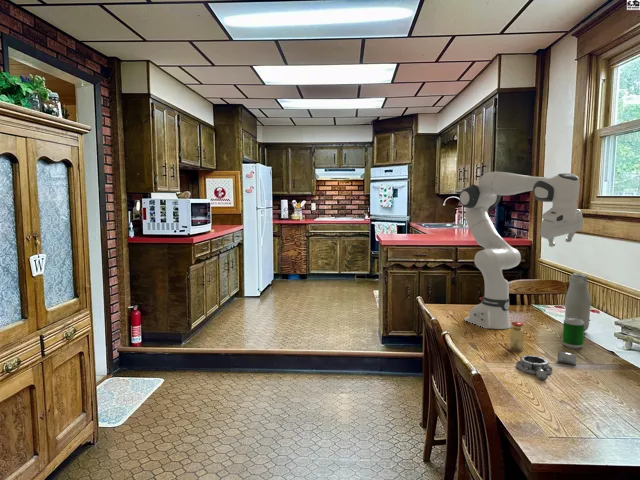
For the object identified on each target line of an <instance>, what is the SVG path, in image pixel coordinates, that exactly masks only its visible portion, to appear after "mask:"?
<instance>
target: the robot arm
mask: <svg viewBox="0 0 640 480" xmlns="http://www.w3.org/2000/svg"><path fill="white" fill-rule="evenodd" d="M530 191H531V192H532V193H533V194H532V195H533V197H534V199H535V200H537V201H538V202H542V203H552V206H551V208H549V210H547V211H545V212H544V213H542V215H541V218H542V221H541V224H540V231H539V232H540V233H539V234H540V237H541V238H543V239H546V240H548V247H550V248H553V247H555V246H556V242H554V239H555V238H557V237H560V236H564V235H567V237H565V242H566V243H572V241H573V237H574V236H575V234H576V232H579V231H582V230H583V227H584V217H583V211H582V210H581V209H578V204H577V202H578V198H579V195H580V179H579V177H578V175H576V174H573V173H569V172H559V173H558V174H556V175H555V176H552V177H549V176H548V177H545V176H532V175H525V174H524V175H523V174H519V173H518V174H517V173H513V172H508V171H507V172H505V171H489V172H485V173H484V174H482V175H481V177H480V179H479V183H478V184H477V185H476V184H471V185H469V186H467V187H465V188H464V189H462V190H461V192H460V193H459V198H458V199H459V203H460V205H461V206H462V207H464V208H467V210H466V212H465V219H466V223H467V225H468V228H469V230H470V233H471V234H472V236H473V238H474V240H475V243H476V244H478V246H481V248H482V247H483V248H484V249H482V250H481V249H480V250H479V251H477V252H476V253H475V256H474V259H473V261H474V265H475V267H476V268H477V269H479V271H480V272H481V274H482V276H483V280H484V295H483V296H482V297H479V300H480V301H481V302H480V303H479V304H476V305H474V306H473V307H472V308H471V309H470V310H469V315H468V316H466V317H464V319H463V321H464V320H465V321H464V322H466V321H468V322H467V323H469V322H470V323H469V324H472V323H473V324H472V325H474V324H476V325H475V326H477V325H478V326H477V327H480V326H481V327H480V328H482V327H483V328H482V329H495V330H506V329H511V328H512V323H511V321H510V320H511V319H510V314H509V311H510V310H509V309H510V296H509V295H510V293H509V291H510V283H509V281H508V280H507V279H505V277H504V274H503V270H509V269H513V268H515V267H517V266H519V264H520V263H521V262H522V261H521V260H522V255H521V253H520V251H519V250H518V249H517V248H514V247H513V246H512V245H510V244H509V243H507V241H506V240H505V239H504V238H503V237H502V236H501V235H500V233H498V231H497V229H496V227H495V225H494V224H493V221H492V220H491V217H489V213H488V212H489V211H492V210H493V209H494V208H495V207H496V206H497V205H498V204H499V203H500V201H501V198H502V196H513V195H517V194H522V193H526V192H530Z"/></svg>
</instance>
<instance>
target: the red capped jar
mask: <svg viewBox="0 0 640 480" xmlns="http://www.w3.org/2000/svg"><path fill="white" fill-rule="evenodd" d="M511 326H513V327H510V334H509V335H510V337H509V350H510V351H511V352H514V353H523V352H524V338H525V337H524V336H525V335H524V334H525V333H524V332H525V329H524V328H522V327H523V326H524V323H523V322H521V321H512V322H511Z"/></svg>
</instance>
